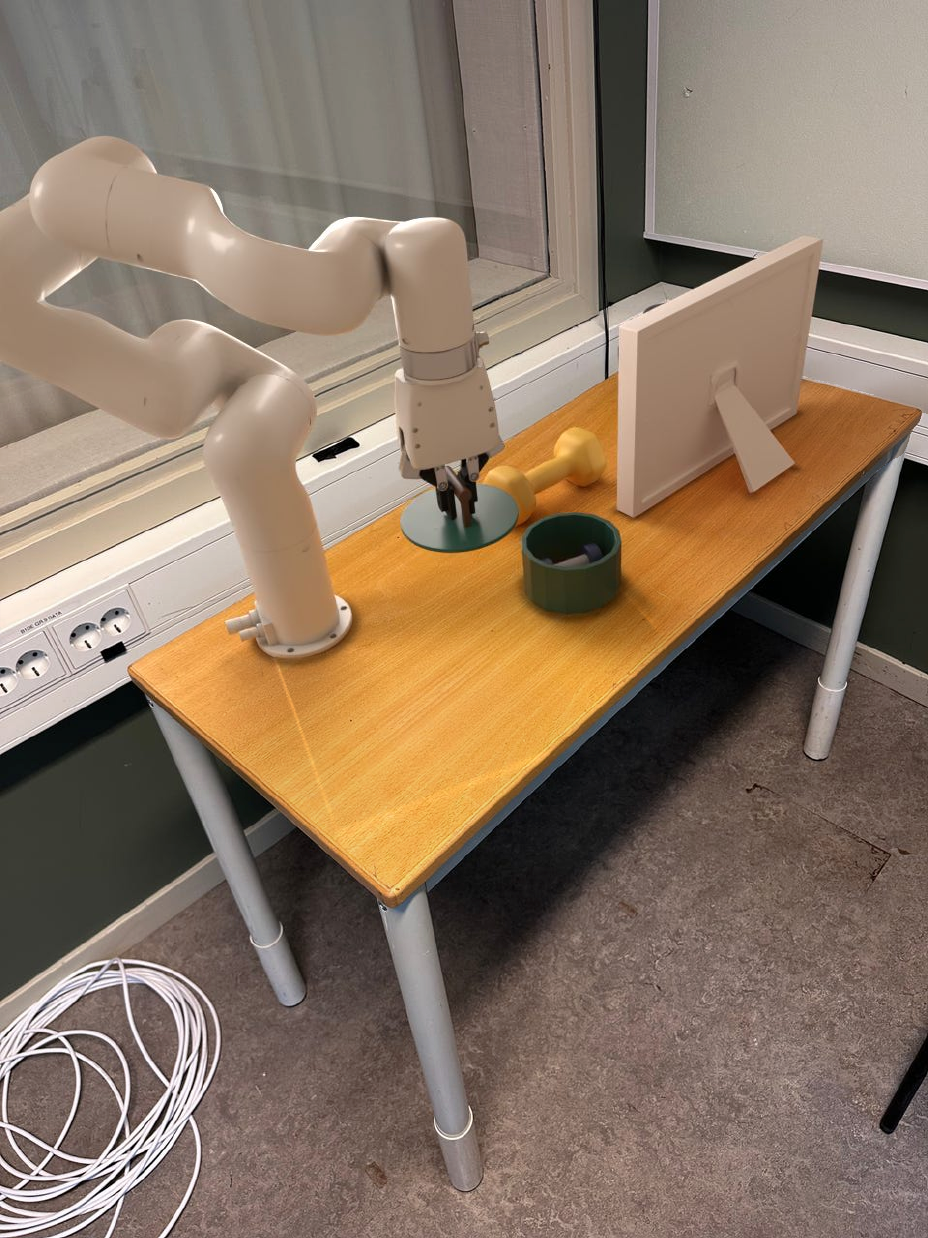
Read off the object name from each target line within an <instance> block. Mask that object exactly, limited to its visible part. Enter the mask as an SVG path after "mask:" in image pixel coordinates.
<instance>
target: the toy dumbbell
mask: <svg viewBox="0 0 928 1238" xmlns="http://www.w3.org/2000/svg"><path fill="white" fill-rule="evenodd" d="M602 558H603V555H602V552H601V550H600V549H599V547H598V546H597V545H596V544H595V543H590V544H587V545H584V546H581V547H580V549H579V556H578V557H575V558H568V559H565V560H563V561H560V562H557V563H554V562H552V561H551V560H550V559H549V558H544V559H541V561H543V562H545V563H547V564H551V565H557V566H563V567H570V566H584V565H587V564H590V563H593V562H596V561H599V560H601V559H602Z"/></svg>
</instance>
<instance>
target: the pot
mask: <svg viewBox="0 0 928 1238" xmlns="http://www.w3.org/2000/svg"><path fill="white" fill-rule="evenodd" d="M590 543H595V544H596V545H597V546H598V547H599V549H600V550H601V552H602V555H603V558H602V559H601V560H599V561H596V562H593V563H590V564H587V565H584V566H570V567H563V566H557V565H551V564H547V563H545V562H543V561H541V559H544V558H549V559H550V560H551V561H552V563H554V562H556V561H558V560H568V559H572V558H575V557H578V556H579V549H580V547H581V546H584V545H587V544H590ZM622 543H623V542H622V537H621V533H620V530H619V529H618V528H617V527H616V526H615V525H614V524H613V523H612V522H611V521H610V520H608V519H606V518H603V517H601V516H599V515H596V514H593V513H587V512H579V511H571V512H558V513H553V514H551V515H548V516H545V517H542V518H539V519H538V520H536V521H534V522H533V523H532V524H529V526H528V527H527V528H526V529H525V531H524V533H523V534H522V535H521V538H520V544H521V545H520V547H521V561H522V572H523V574H522V575H523V576H522V577H523V589H524V594H525V595H526V597H527V598H528V599H529V601H531V603H532V604H534V605H536V606H538V607H539V608H541V609H543V610H545V611H547V612H551V613H555V614H561V615H578V614H579V615H581V614H587V613H590V612H593V611H596V610H599V609H601V608H604V607H605V606H607V605H608V604H609V603H610V602H612V601H614V599H615V598H617V595H618V593H619V591H620V590H621V587H622Z"/></svg>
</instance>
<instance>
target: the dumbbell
mask: <svg viewBox="0 0 928 1238" xmlns="http://www.w3.org/2000/svg"><path fill="white" fill-rule="evenodd" d="M607 465H608V460H607V456H606V453H605V451H604V447H603V445H602V443H601V440H600V438H599V437H598V436H597V435H596V434H595V433H593V432H591V431H589V430H587V429H585V428H583V427H580V426H572V427H571V428H568V429H567V430H565V431H563V432H562V433H561V435H560V436H559V437H558V439H557V441H556V443H555V444H554V447H553V458H551V459H548V460H547V461H544V462H543V463H541V464H539V465H537V466H535V467H534V468H532V469H530V470H528V471H527V472H526V473H523V472H521V471H520V470H518V469H516V468H514V467H512V466H509V465H505V464H502V465H501V464H500V465H498V466H496V467H494V468H493V469H491V470H489V471H488V472H487V474H486V476H485V478H484V480H483V483H482V484H486V485H490V486H494V487H497V488H499V489H502V490H504V491H505V492H507V493H508V494H510V495H511V496H512V497H513V498H514V500H515V501H516V503H517V505H518V509H519V518H518V522H517V524H516V526H515V527H514V528H516V527H518V526H520V525H522V524H523V523H526V521H528V520H529V518H530V517H531V516H532V514H533V512H534V510H535V508H536V506H537V498H536V495H538V494H541V493H543V492H544V491H546V490H548V489H550V488H551V487H553V486H556V485H557V484H559V483H560V482H562V481H563V480H566V481H568V482H570V483H571V484H574V485H577V486H579V487H583V488H585V487H588V486H591V485H593V484H594V483H596V482H598V480H599V479H600V478H601V477H602V475H603V474H604V472H605V470H606V469H607Z"/></svg>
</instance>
